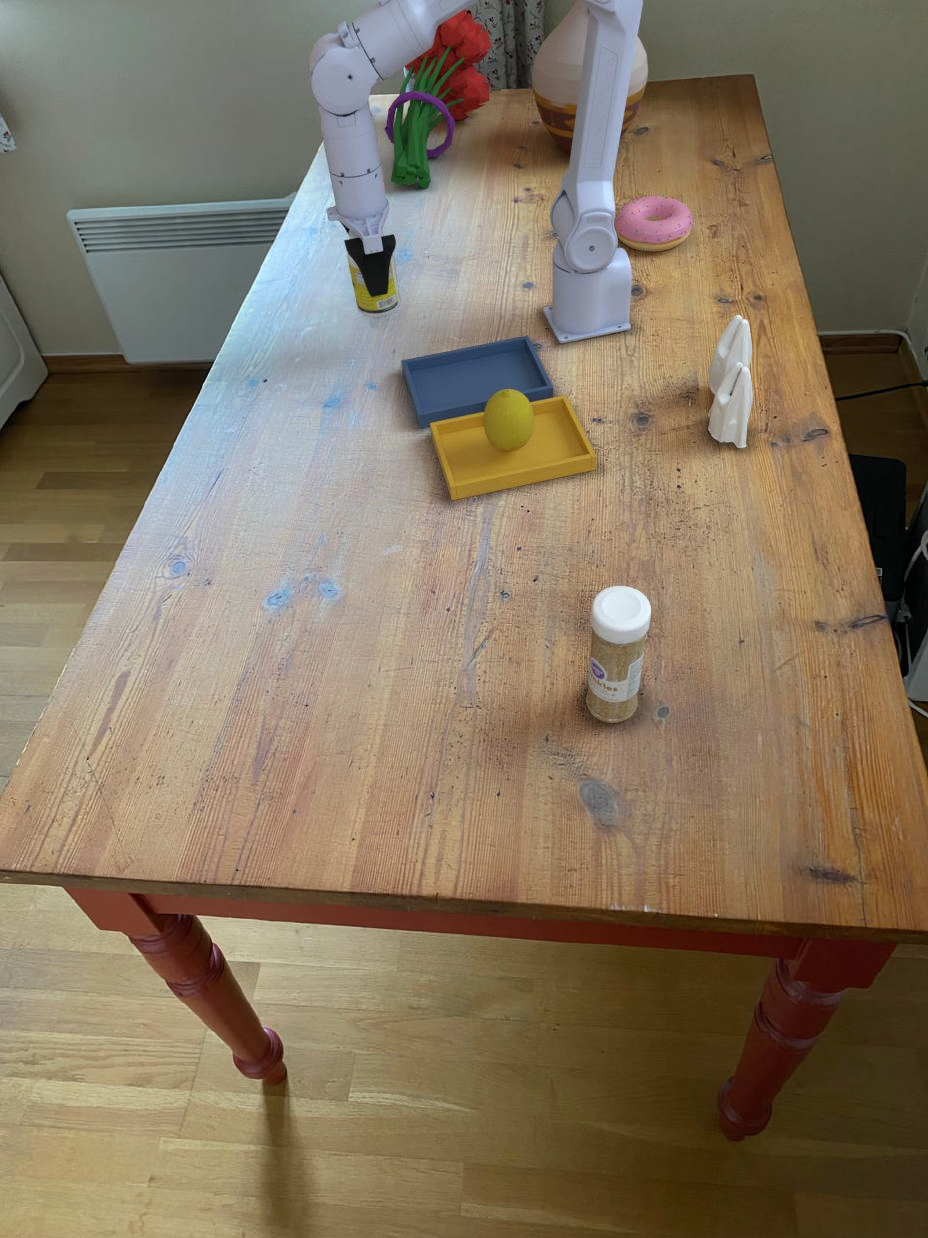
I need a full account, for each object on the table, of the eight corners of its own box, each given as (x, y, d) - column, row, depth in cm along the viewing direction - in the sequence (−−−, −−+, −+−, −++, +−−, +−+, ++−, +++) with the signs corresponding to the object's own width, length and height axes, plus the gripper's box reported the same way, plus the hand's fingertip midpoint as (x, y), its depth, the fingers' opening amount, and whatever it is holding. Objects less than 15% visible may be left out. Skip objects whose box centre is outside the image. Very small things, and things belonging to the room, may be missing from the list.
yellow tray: (566, 408, 104) (566, 394, 103) (595, 469, 97) (596, 455, 96) (431, 436, 103) (429, 422, 101) (451, 500, 96) (450, 486, 94)
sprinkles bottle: (575, 707, 78) (579, 610, 68) (605, 673, 80) (613, 574, 70) (619, 734, 76) (630, 638, 66) (648, 699, 78) (663, 600, 68)
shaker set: (705, 380, 105) (719, 296, 97) (742, 381, 105) (759, 296, 96) (707, 447, 98) (722, 362, 90) (746, 448, 97) (765, 363, 89)
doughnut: (669, 211, 131) (672, 182, 128) (705, 245, 124) (709, 216, 121) (601, 228, 130) (602, 199, 126) (633, 263, 123) (636, 234, 120)
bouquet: (374, 225, 148) (412, 109, 161) (470, 228, 145) (501, 109, 157) (345, 113, 131) (391, -8, 143) (454, 114, 127) (491, -10, 140)
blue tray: (528, 348, 112) (528, 334, 111) (553, 401, 105) (553, 387, 104) (403, 373, 111) (401, 360, 109) (420, 428, 104) (418, 414, 102)
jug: (649, 173, 139) (669, -61, 116) (535, 181, 140) (532, -49, 117) (636, 119, 151) (651, -102, 128) (531, 127, 153) (527, -90, 129)
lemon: (530, 467, 97) (529, 408, 91) (481, 464, 98) (476, 405, 92) (538, 435, 101) (537, 376, 95) (490, 432, 102) (486, 373, 96)
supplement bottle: (366, 292, 112) (352, 216, 104) (407, 296, 110) (396, 219, 103) (351, 316, 109) (335, 239, 101) (392, 320, 107) (379, 243, 100)
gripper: (311, 144, 101) (334, 257, 111) (326, 202, 92) (350, 319, 102) (372, 133, 101) (389, 246, 112) (393, 189, 92) (410, 307, 103)
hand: (374, 280), depth 107 cm, fingers closed on supplement bottle, 5 cm apart
